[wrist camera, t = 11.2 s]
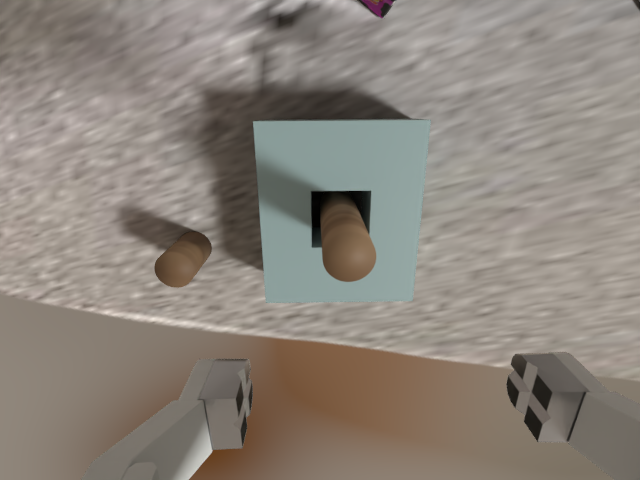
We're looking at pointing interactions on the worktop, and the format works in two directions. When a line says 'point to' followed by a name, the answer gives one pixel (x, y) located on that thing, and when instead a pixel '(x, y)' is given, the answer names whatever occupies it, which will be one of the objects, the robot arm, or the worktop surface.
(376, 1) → the candy bar box
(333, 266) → the long dowel
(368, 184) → the hole block
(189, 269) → the short dowel
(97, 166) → the worktop surface
